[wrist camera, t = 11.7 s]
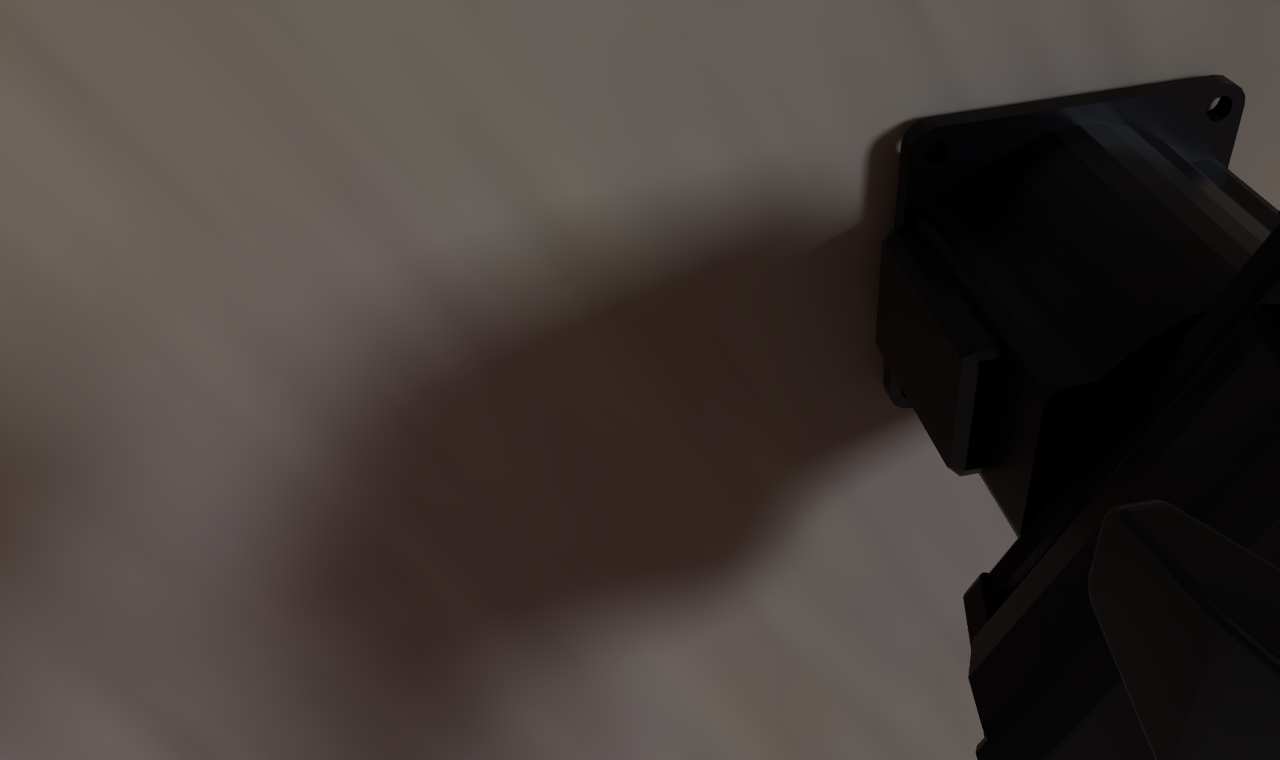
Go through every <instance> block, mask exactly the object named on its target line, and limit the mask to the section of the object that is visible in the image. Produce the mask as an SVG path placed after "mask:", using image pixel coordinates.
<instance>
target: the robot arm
mask: <svg viewBox="0 0 1280 760" xmlns="http://www.w3.org/2000/svg"><path fill="white" fill-rule="evenodd" d="M1219 97H1220V100H1219V102H1218V104H1217V105H1216V106H1215V107H1214V108H1213V109H1212V110H1210V111H1207V112H1206V110H1207V108H1208V106H1209V104H1210V103H1211V102H1213V101H1214V100H1215V99H1216V98H1219ZM1244 105H1245V94H1244V92H1243V90H1242V88H1240V87H1239V86H1238V85H1236V84H1235V83H1234V82H1232V81H1231V80H1229V79H1228V78H1226V77H1225V76H1223V75H1209V76H1203V77H1196V78H1189V79H1183V80H1176V81H1169V82H1162V83H1156V84H1149V85H1142V86H1136V87H1129V88H1122V89H1116V90H1109V91H1102V92H1096V93H1089V94H1082V95H1076V96H1069V97H1062V98H1056V99H1049V100H1042V101H1036V102H1029V103H1022V104H1016V105H1009V106H1002V107H996V108H989V109H982V110H976V111H969V112H962V113H956V114H949V115H942V116H936V117H929V118H926V119H923V120H920V121H918V122H917V123H915V124H914V125H913V126H911V127H910V128H909V130H908V131H907V132H906V134H905V135H904V137H903V140H902V144H901V151H900V164H899V178H898V191H897V204H896V218H895V229H892V230H891V231H890V232H889V233H888V235H887V236H886V238H885V239H884V241H883V242H882V251H881V266H880V281H879V295H878V310H877V325H876V345H877V347H878V349H879V350H880V352H881V354H882V355H883V357H884V359H885V365H884V379H883V383H884V389H885V390H886V392H887V394H888V396H889V398H890V399H891V401H892V402H893V403H894V404H895V405H896V406H899V407H901V408H913V409H914V411H915V412H916V414H917V416H918V417H919V419H920V421H921V423H922V424H923V426H924V428H925V430H926V431H927V433H928V435H929V436H930V438H931V440H932V442H933V443H934V445H935V447H936V448H937V450H938V452H939V454H940V455H941V457H942V459H943V461H944V462H945V464H946V466H947V467H948V468H950V469H951V470H952V471H954V472H955V473H956V474H958V475H959V476H965V475H970V474H976V473H979V474H980V476H981V478H982V479H983V481H984V483H985V484H986V486H987V488H988V489H989V491H990V493H991V494H992V496H993V497H994V499H995V501H996V502H997V504H998V506H999V507H1000V509H1001V511H1002V512H1003V514H1004V516H1005V517H1006V519H1007V521H1008V522H1009V524H1010V525H1011V527H1012V529H1013V530H1014V532H1015V534H1016V535H1017V537H1018V539H1017V540H1016V541H1015V542H1014V544H1013V545H1012V546H1011V547H1010V549H1009V550H1008V551H1007V552H1006V553H1005V555H1004V556H1003V557H1002V558H1001V559H1000V561H999V562H998V563H997V564H996V565H995V567H994V568H993V569H992V570H991V571H990V573H984V572H983V573H982V574H980V575H979V577H978V578H977V579H976V580H975V582H974V583H973V584H972V585H971V586H970V588H969V589H968V590H967V591H966V592H965V594H964V597H963V599H964V606H965V612H966V619H967V625H968V632H969V639H970V645H971V658H970V667H969V676H968V678H969V682H970V685H971V689H972V693H973V696H974V700H975V703H976V707H977V710H978V714H979V718H980V721H981V725H982V728H983V731H984V739H983V740H982V741H981V742H980V743H979V744H978V745H977V748H976V756H977V759H978V760H1280V211H1278V210H1277V209H1276V208H1275V207H1273V206H1272V205H1271V204H1270V203H1269V202H1267V201H1266V200H1265V199H1264V198H1263V197H1261V196H1260V195H1259V194H1258V193H1256V192H1255V191H1254V190H1253V189H1252V188H1250V187H1249V186H1248V185H1247V184H1246V183H1244V182H1243V181H1242V180H1241V179H1239V178H1238V177H1237V176H1236V175H1235V174H1233V173H1232V172H1231V171H1230V170H1229V169H1228V165H1229V162H1230V158H1231V154H1232V150H1233V147H1234V143H1235V139H1236V135H1237V131H1238V128H1239V124H1240V120H1241V116H1242V113H1243V109H1244ZM936 139H938V140H941V141H940V143H939V146H938V148H937V149H936V150H935V151H934V152H933V153H930V154H928V155H921V154H922V151H923V149H924V147H925V146H926V145H927V144H928V143H929V142H931V141H934V140H936Z"/></svg>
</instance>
